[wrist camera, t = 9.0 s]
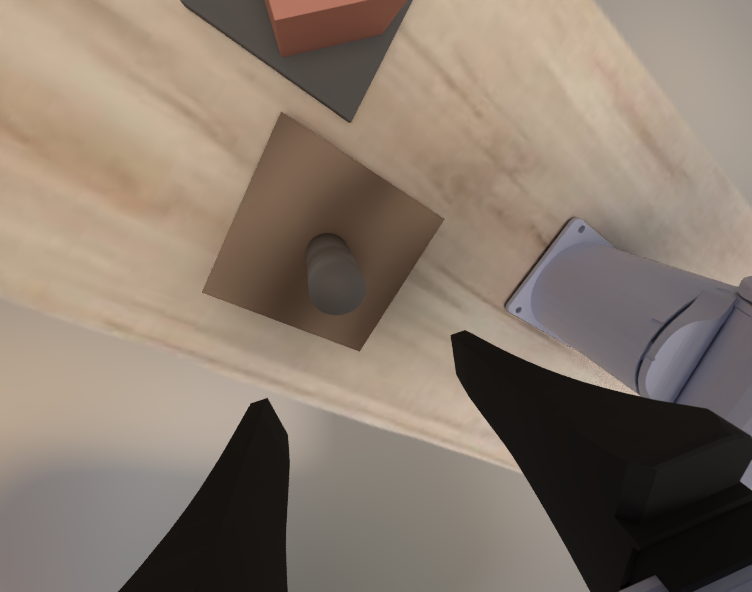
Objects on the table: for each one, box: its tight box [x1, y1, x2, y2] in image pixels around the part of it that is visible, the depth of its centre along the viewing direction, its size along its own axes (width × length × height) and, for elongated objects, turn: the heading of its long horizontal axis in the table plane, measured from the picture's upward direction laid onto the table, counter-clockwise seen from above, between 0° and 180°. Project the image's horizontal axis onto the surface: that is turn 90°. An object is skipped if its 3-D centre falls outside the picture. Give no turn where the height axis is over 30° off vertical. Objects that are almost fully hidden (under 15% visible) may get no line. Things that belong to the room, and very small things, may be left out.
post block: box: [202, 112, 444, 351], centre depth 16 cm, size 10×10×6 cm
